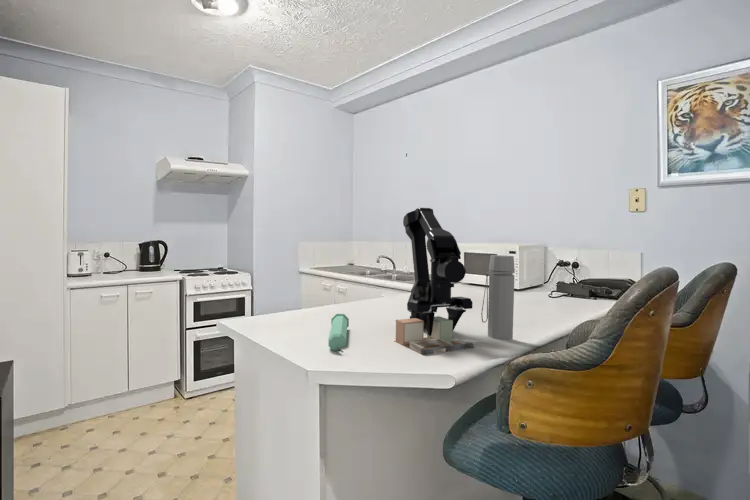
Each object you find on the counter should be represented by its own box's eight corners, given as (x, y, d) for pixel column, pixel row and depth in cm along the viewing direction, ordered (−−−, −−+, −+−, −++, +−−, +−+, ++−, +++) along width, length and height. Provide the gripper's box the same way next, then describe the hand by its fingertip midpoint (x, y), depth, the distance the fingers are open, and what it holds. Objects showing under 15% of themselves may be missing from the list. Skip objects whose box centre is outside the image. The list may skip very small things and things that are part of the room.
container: (343, 329, 109) (345, 310, 134) (322, 338, 109) (328, 317, 134) (351, 350, 110) (352, 327, 135) (330, 358, 110) (334, 334, 135)
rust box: (395, 341, 116) (396, 319, 116) (415, 339, 119) (416, 318, 119) (403, 345, 113) (403, 322, 113) (423, 342, 116) (424, 321, 115)
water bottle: (514, 338, 126) (516, 255, 125) (511, 345, 119) (513, 256, 118) (483, 335, 130) (485, 254, 129) (478, 341, 123) (480, 255, 122)
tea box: (438, 336, 123) (438, 316, 122) (452, 341, 117) (452, 320, 117) (426, 338, 121) (427, 317, 121) (440, 343, 115) (440, 321, 115)
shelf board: (441, 339, 124) (441, 330, 124) (473, 352, 111) (474, 342, 111) (393, 345, 117) (394, 335, 117) (422, 359, 104) (423, 349, 104)
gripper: (450, 276, 130) (449, 326, 130) (397, 277, 121) (396, 331, 121) (474, 279, 120) (473, 334, 120) (418, 281, 111) (417, 340, 112)
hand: (439, 334), depth 118 cm, fingers open, 7 cm apart
